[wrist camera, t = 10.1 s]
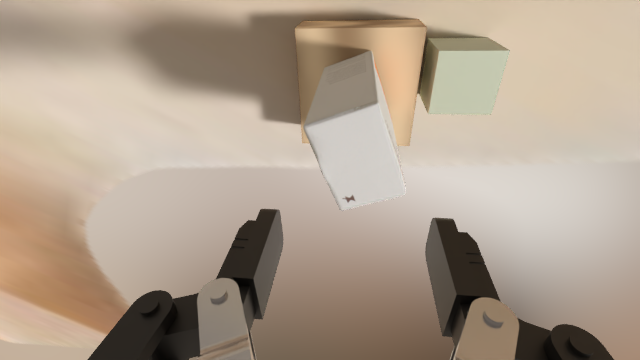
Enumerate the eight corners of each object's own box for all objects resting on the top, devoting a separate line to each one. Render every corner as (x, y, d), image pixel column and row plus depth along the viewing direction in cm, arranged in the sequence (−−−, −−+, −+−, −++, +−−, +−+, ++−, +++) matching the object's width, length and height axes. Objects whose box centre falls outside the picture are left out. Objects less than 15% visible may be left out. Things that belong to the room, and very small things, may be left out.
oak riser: (418, 19, 27) (426, 26, 24) (404, 127, 33) (409, 145, 29) (302, 20, 28) (294, 28, 25) (308, 125, 34) (302, 143, 30)
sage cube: (487, 37, 27) (509, 50, 23) (473, 94, 30) (491, 114, 26) (427, 37, 28) (439, 50, 24) (419, 93, 31) (428, 113, 27)
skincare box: (392, 115, 28) (409, 198, 18) (346, 129, 29) (338, 214, 19) (372, 46, 25) (380, 100, 15) (322, 65, 26) (298, 127, 16)
